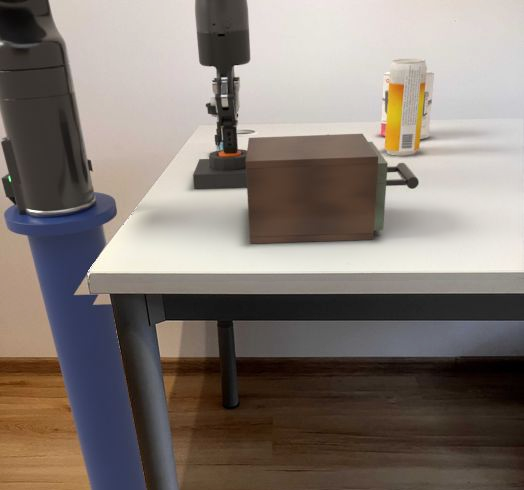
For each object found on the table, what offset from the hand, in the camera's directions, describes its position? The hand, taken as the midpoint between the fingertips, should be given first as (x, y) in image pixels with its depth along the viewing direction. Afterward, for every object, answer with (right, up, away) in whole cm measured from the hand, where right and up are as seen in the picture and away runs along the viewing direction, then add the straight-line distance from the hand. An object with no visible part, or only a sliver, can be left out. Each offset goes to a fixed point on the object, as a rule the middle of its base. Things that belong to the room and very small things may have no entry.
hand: (230, 152), depth 93 cm
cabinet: (+11, -15, -18) cm, 26 cm away
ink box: (+33, +11, +25) cm, 43 cm away
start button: (0, -2, +1) cm, 2 cm away
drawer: (+15, -14, -18) cm, 27 cm away
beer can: (+30, +4, +13) cm, 33 cm away
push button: (-2, +4, +16) cm, 17 cm away
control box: (0, -4, +2) cm, 4 cm away
